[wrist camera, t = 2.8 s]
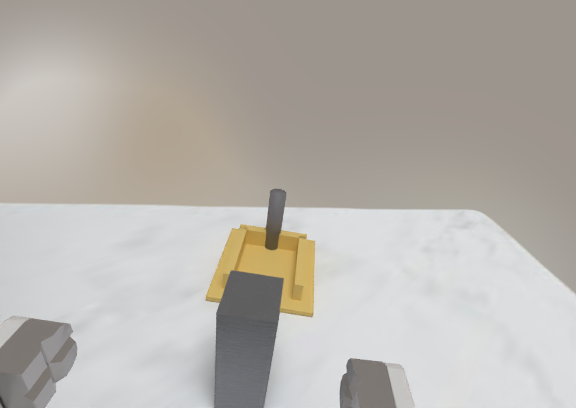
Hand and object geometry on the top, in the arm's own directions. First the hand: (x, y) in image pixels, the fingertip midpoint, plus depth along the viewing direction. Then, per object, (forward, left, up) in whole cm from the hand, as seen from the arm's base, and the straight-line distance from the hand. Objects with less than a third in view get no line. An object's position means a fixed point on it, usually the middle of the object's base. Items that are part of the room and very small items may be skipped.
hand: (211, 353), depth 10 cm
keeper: (0, +25, -20) cm, 32 cm away
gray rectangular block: (0, +10, -20) cm, 23 cm away
